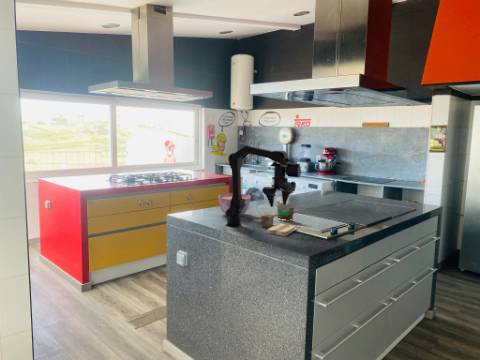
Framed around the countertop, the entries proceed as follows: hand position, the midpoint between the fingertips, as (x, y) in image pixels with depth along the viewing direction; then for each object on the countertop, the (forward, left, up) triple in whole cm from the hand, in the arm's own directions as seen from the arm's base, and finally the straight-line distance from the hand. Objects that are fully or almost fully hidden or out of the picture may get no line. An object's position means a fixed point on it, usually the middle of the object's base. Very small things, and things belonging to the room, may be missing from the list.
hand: (278, 205), depth 190 cm
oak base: (+2, +2, -14) cm, 14 cm away
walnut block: (-9, +7, -14) cm, 18 cm away
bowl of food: (-37, +19, -14) cm, 44 cm away
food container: (-7, +24, -14) cm, 29 cm away
